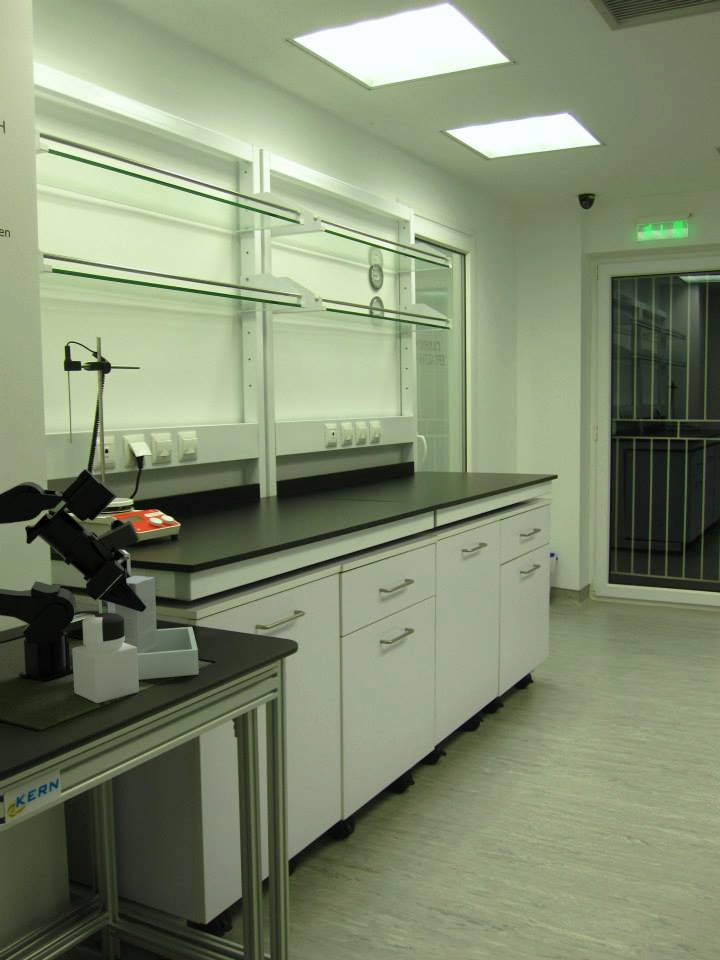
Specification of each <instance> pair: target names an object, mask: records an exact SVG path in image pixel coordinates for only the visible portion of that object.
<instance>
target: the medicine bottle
mask: <svg viewBox="0 0 720 960" xmlns="http://www.w3.org/2000/svg"><path fill="white" fill-rule="evenodd" d="M124 641H125V629H124V618H123V617H122V616H121V615H119V614H116V613H99V612H98V613H95V614H91V615H89V616H87V617H85V618H84V619H83V620H82V642H83V645H79V646H76V647H73V648H72V651H71V652H72V667H73V671H72V672H73V674H72V675H73V689H74V690H73V692H74V694H76V695H78V696H80V697H83V698H85V699H86V700H89V701H91V702H93V703H96V704H100V703H104V702H108V701H112V700H115V699H118V698H123V697H126V696H129V695H133V694H138V693H139V691H140V687H139V686H140V683H139V680H138V657H137V647H135V646H132V645H130V644H127V643H124Z"/></svg>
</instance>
